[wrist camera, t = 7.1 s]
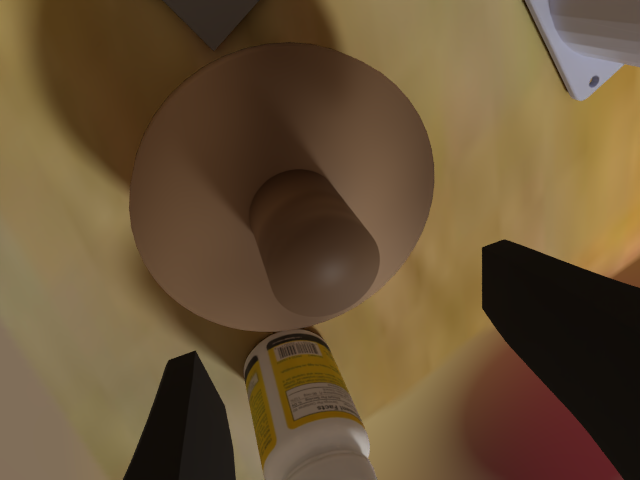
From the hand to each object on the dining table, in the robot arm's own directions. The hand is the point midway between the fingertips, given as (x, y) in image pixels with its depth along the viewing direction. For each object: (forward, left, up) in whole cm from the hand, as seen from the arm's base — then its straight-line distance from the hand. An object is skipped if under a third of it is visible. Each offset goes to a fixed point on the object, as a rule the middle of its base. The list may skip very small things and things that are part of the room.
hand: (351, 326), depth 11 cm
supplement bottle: (+7, +8, -10) cm, 14 cm away
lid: (0, -1, -6) cm, 6 cm away
